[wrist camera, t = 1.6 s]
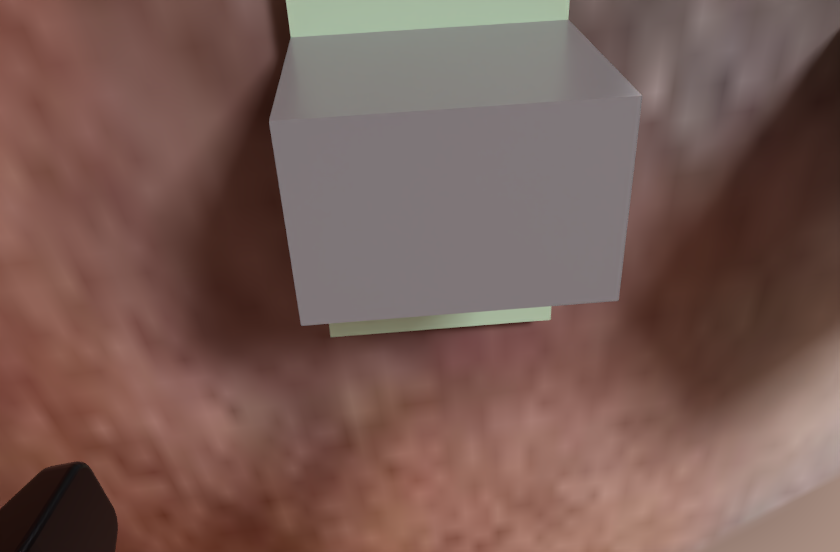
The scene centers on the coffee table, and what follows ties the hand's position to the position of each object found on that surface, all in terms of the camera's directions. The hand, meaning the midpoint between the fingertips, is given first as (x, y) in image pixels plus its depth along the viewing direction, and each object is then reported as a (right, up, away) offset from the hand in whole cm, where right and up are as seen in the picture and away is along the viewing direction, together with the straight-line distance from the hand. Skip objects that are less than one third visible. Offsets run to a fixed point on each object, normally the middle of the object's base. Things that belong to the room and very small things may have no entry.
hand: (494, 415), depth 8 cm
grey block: (-1, +6, +10) cm, 12 cm away
